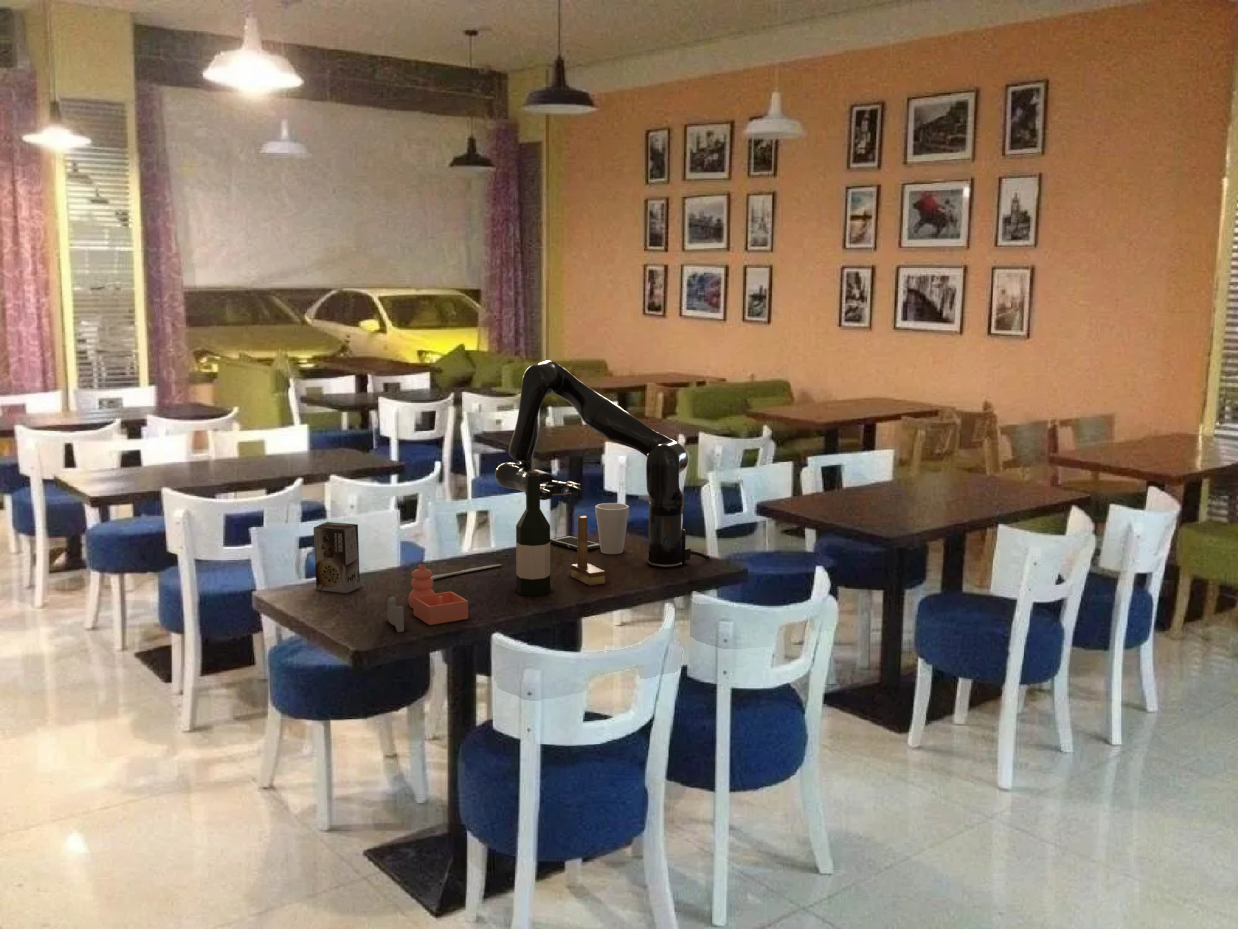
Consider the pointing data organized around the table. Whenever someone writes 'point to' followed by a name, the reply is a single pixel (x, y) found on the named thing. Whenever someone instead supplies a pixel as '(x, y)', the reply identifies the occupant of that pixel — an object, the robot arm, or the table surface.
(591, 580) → the brush
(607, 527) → the foam cup
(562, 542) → the cell phone
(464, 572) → the butter knife
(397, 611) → the grey stepped plate
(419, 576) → the pottery
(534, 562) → the wine bottle
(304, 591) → the table surface
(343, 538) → the coffee box
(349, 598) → the table surface
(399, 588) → the table surface
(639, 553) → the table surface
